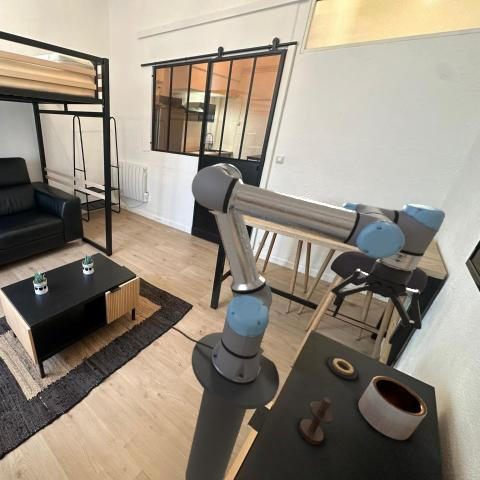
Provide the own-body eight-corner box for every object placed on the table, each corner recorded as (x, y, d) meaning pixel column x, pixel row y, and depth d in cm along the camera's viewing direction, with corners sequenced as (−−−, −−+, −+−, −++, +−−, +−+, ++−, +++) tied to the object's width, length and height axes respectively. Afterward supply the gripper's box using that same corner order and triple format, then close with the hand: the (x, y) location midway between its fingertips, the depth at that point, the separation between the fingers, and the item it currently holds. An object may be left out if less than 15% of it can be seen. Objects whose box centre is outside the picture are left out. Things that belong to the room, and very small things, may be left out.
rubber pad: (324, 367, 81) (324, 366, 81) (331, 354, 86) (331, 353, 86) (353, 385, 76) (354, 383, 76) (359, 370, 81) (359, 368, 81)
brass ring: (330, 366, 81) (331, 364, 80) (335, 357, 84) (336, 355, 84) (350, 378, 77) (351, 376, 77) (354, 368, 81) (355, 366, 80)
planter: (414, 451, 60) (434, 427, 57) (359, 424, 65) (375, 400, 61) (403, 413, 69) (420, 389, 65) (355, 391, 74) (369, 368, 70)
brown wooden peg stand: (296, 432, 62) (312, 398, 57) (303, 418, 66) (318, 385, 61) (318, 449, 59) (337, 416, 54) (324, 434, 62) (342, 401, 57)
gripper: (336, 249, 70) (311, 310, 79) (467, 292, 55) (417, 362, 63) (343, 243, 75) (318, 300, 84) (464, 281, 60) (418, 347, 68)
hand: (361, 327), depth 74 cm, fingers open, 13 cm apart
